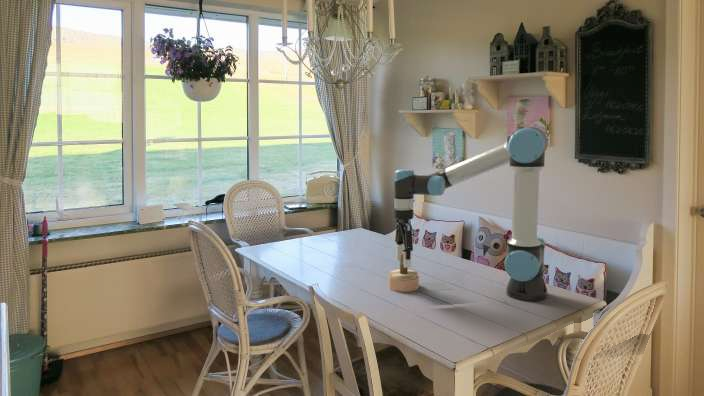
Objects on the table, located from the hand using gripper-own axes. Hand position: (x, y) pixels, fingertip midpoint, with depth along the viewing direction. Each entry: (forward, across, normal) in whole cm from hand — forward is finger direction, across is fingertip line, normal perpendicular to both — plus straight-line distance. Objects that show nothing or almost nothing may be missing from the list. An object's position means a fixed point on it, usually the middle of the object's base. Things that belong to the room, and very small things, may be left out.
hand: (403, 263), depth 211 cm
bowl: (+11, 0, 0) cm, 11 cm away
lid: (+5, 0, 0) cm, 5 cm away
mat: (+11, -2, -13) cm, 17 cm away
